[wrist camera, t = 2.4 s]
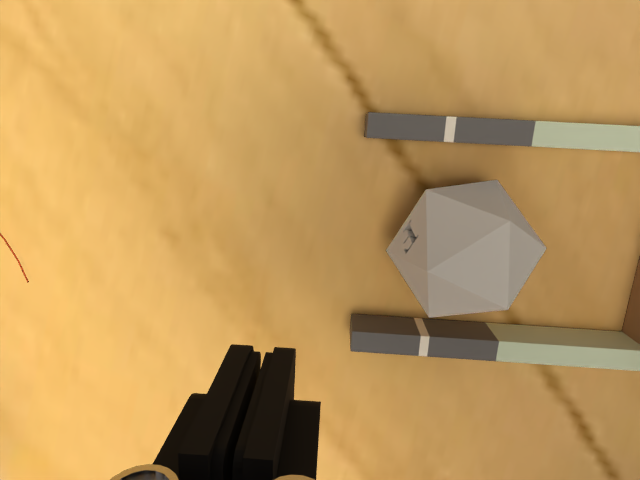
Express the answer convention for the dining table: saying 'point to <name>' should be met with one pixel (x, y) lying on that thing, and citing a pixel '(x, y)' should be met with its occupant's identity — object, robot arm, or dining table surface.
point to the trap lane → (494, 338)
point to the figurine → (15, 257)
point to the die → (465, 249)
